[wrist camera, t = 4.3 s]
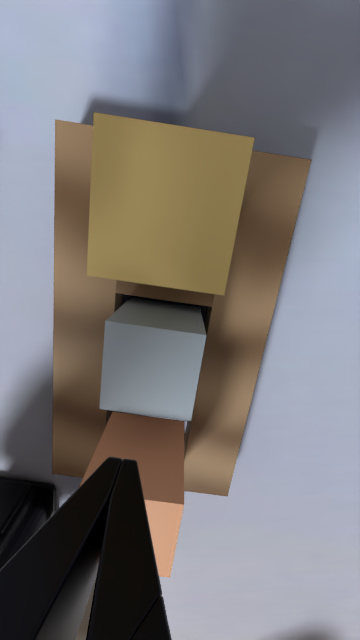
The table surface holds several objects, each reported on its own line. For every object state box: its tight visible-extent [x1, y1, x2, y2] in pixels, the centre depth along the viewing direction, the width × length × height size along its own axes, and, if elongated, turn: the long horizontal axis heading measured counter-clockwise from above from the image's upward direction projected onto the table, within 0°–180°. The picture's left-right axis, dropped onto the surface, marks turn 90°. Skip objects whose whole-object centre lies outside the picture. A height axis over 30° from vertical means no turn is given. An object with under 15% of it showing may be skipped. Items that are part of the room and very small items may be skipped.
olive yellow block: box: [87, 112, 254, 295], centre depth 11 cm, size 5×5×6 cm
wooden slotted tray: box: [52, 120, 311, 496], centre depth 18 cm, size 24×14×2 cm, turn 172°
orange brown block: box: [79, 412, 184, 577], centre depth 16 cm, size 5×5×6 cm
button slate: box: [99, 298, 206, 421], centre depth 16 cm, size 5×5×6 cm
